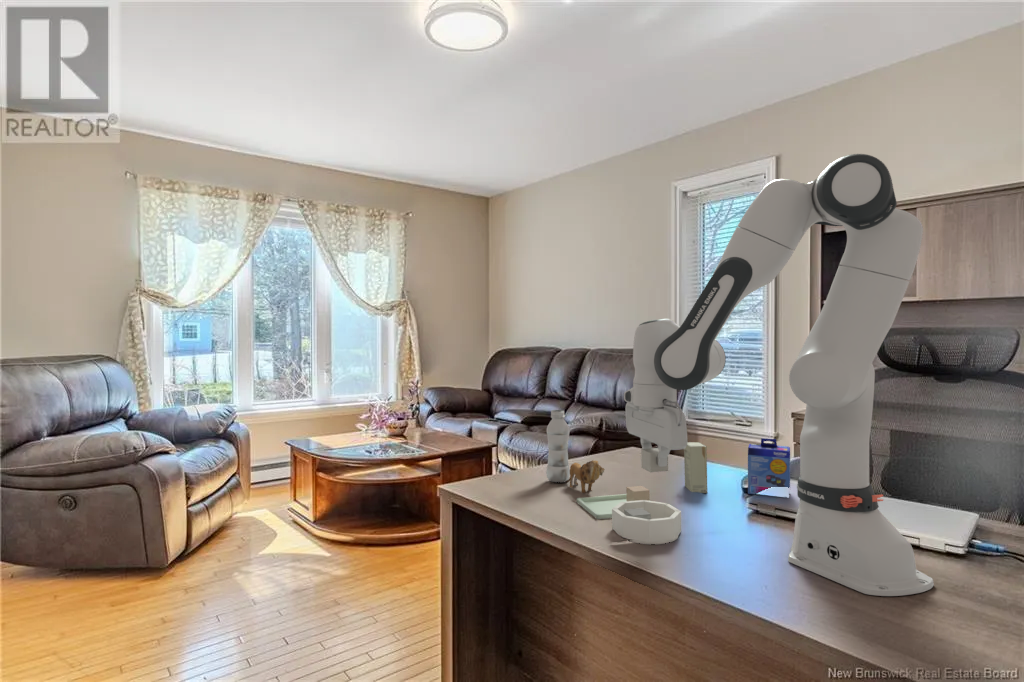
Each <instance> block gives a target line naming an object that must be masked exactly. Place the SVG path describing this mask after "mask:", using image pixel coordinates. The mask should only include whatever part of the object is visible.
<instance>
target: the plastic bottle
mask: <svg viewBox="0 0 1024 682" xmlns="http://www.w3.org/2000/svg"><path fill="white" fill-rule="evenodd" d="M550 418H551V420H550V421H549V423H548V425H547V426H546V437H547V448H548V455H547V466H546V471H545V472H546V478H547V480H548V481H549V482H553V483H557V482H558V483H559V482H560V483H565V481H567V480H568V479H569V478H570V464H569V454H568V453H569V452H568V451H569V440H570V439H569V437H570V426H569V425H568V423H567V421H566V420H565V418H566V417H565V410H564V409H553V410H550Z"/></svg>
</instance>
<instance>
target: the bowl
mask: <svg viewBox="0 0 1024 682" xmlns="http://www.w3.org/2000/svg"><path fill="white" fill-rule="evenodd" d="M638 508H642V509H644V510H645V511H647V512H648V513H650V514H651V519H643V518H637V517H631V516H626V515H625V514H624V510H627V509H638ZM611 523H612V525H611V529H612V530H613V531H615V533H616V534H617V535H618V536H620V537H622V538H623V539H627V542H631V543H636V544H639V543H640V545H651V544H655V545H664V544H665V543H666V544H670V543H672V542H675V541H677V540H678V538H679V537H680V534H681V532H682V510H680V509H678V508H676V507H675V506H673V505H671V504H669V503H667V502H660V501H654V500H653V501H652V500H650V501H647V500H637V501H626V502H620V503H619V504H618V505H616V506H615V507H614V508H612V518H611ZM669 542H670V543H669Z"/></svg>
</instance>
